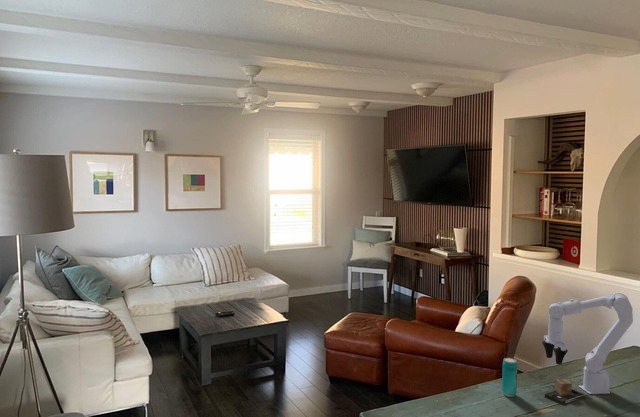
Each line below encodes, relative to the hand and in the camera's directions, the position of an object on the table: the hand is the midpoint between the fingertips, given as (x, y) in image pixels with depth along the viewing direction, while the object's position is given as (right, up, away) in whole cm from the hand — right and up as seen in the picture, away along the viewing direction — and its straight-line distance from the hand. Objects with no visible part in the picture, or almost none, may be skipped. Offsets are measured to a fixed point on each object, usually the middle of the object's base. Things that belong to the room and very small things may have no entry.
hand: (554, 360), depth 221 cm
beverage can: (-24, -11, -10) cm, 29 cm away
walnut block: (-2, -10, -12) cm, 16 cm away
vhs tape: (-2, -12, -13) cm, 18 cm away
